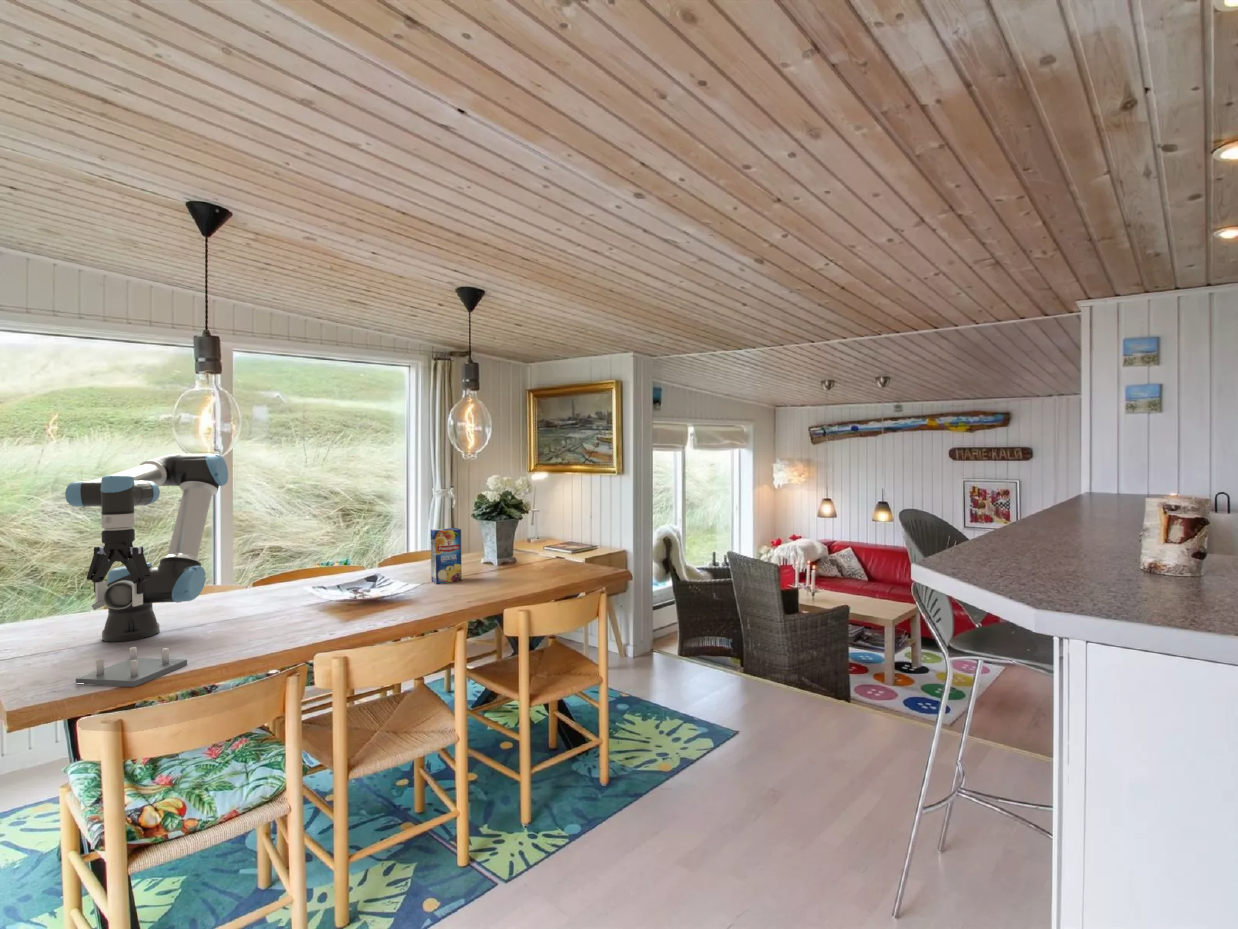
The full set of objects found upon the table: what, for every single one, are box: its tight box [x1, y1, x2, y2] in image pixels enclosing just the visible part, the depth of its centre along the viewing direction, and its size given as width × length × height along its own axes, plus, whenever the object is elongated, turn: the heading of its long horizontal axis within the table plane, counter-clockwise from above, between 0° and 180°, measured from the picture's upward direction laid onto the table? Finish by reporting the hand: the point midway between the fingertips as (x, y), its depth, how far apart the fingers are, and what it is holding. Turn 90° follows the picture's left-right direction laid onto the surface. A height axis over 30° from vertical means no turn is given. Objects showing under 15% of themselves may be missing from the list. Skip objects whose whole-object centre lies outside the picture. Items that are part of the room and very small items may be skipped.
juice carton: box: [430, 527, 463, 585], centre depth 296 cm, size 12×8×24 cm, turn 123°
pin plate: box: [75, 646, 188, 688], centre depth 174 cm, size 17×17×6 cm
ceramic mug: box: [91, 580, 133, 610], centre depth 184 cm, size 11×8×8 cm
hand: (119, 604), depth 185 cm, fingers closed on ceramic mug, 11 cm apart
